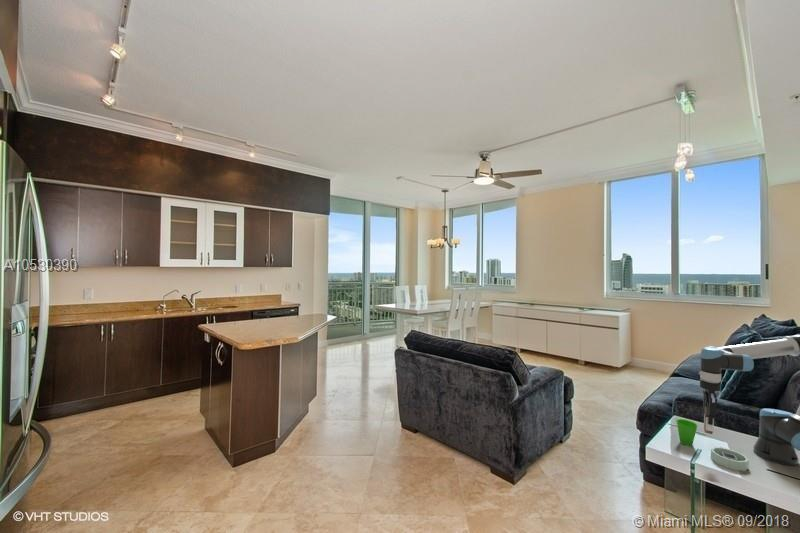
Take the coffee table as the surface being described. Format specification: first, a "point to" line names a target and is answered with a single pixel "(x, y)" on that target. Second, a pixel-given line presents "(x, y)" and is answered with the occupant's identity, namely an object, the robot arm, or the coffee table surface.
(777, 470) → the coffee table surface
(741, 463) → the pale green round dish
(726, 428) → the coffee table surface
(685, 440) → the cup
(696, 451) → the coffee table surface
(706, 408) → the block
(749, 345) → the robot arm
